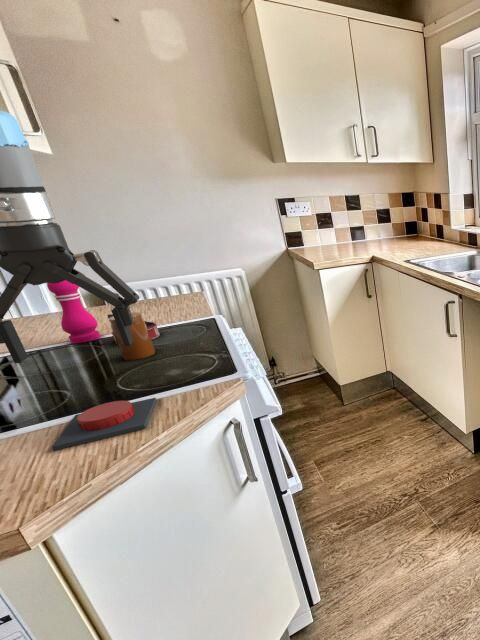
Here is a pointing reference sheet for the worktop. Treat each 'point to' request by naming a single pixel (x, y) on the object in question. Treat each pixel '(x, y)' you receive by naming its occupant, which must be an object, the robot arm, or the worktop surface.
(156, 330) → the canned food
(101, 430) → the mat
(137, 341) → the jar
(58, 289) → the pepper mill
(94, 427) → the lid
